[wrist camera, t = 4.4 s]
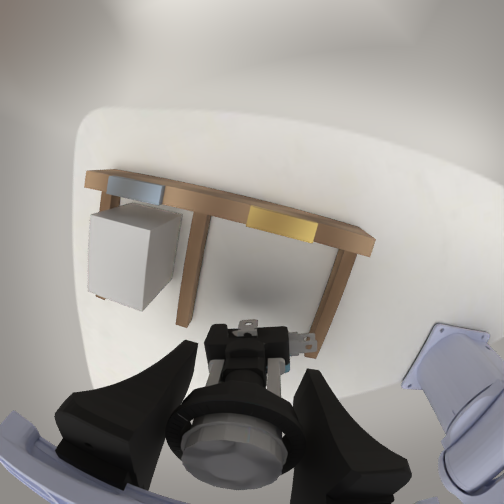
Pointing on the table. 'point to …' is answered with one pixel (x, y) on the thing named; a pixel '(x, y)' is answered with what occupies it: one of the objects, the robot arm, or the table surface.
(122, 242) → the grey plug block
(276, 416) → the push button
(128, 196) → the wooden bench frame
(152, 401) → the robot arm
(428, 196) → the table surface
